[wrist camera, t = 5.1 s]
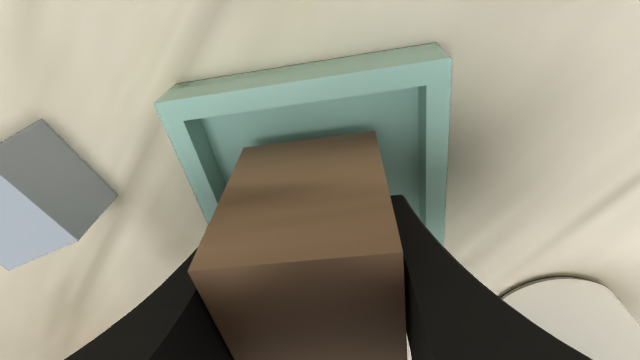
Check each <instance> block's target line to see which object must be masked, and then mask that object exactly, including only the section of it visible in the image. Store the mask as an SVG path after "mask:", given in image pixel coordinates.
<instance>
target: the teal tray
mask: <svg viewBox="0 0 640 360" xmlns="http://www.w3.org/2000/svg"><path fill="white" fill-rule="evenodd" d="M451 72H452V57H451V56H450V55H449V54H448V53H447V52H446V51H445V50H444V49H443V48H442V47H441V46H440V45H439V44H438V43H430V44H424V45H418V46H412V47H405V48H399V49H393V50H386V51H380V52H374V53H368V54H361V55H355V56H349V57H343V58H336V59H330V60H324V61H318V62H311V63H305V64H299V65H292V66H286V67H280V68H274V69H267V70H261V71H255V72H249V73H242V74H236V75H230V76H224V77H217V78H211V79H205V80H198V81H192V82H186V83H180V84H175V85H174V86H173V87H172V88H170V89H169V90H168V91H167V92H166V93H165V94H164V95H162V96H161V97H160V98H159V99H158V100H157V101H156V102H155V103H153V104H154V106H155V108H156V110H157V112H158V115H159V117H160V119H161V121H162V123H163V126H164V128H165V130H166V132H167V134H168V137H169V139H170V141H171V143H172V145H173V148H174V150H175V152H176V154H177V157H178V159H179V161H180V163H181V165H182V168H183V170H184V172H185V174H186V176H187V179H188V181H189V183H190V185H191V187H192V190H193V192H194V194H195V196H196V198H197V201H198V203H199V205H200V207H201V210H202V212H203V214H204V216H205V218H206V221H207V223H208V225H209V223H210V220H211V218H212V216H213V214H214V212H215V209H216V207H217V205H218V203H219V201H220V198H221V196H222V194H223V192H224V190H225V187H226V185H227V183H228V181H229V179H230V176H231V174H232V172H233V170H234V167H235V165H236V163H237V161H238V159H239V156H240V154H241V152H242V150H243V148H245V147H252V146H260V145H268V144H276V143H283V142H291V141H299V140H307V139H315V138H322V137H330V136H338V135H346V134H353V133H361V132H369V131H375V132H376V136H377V141H378V145H379V149H380V154H381V158H382V162H383V167H384V171H385V175H386V180H387V184H388V188H389V193H390V196H391V195H401V194H402V195H403V196H404V197H405V198H406V200H407V201H408V203H409V204H410V206H411V207H412V209H413V210H414V212H415V213H416V214H417V216H418V217H419V218H420V220H421V221H422V222H423V224H424V225H425V226H426V227H427V229H428V230H429V231H430V232H431V233H432V234H433V236H434V237H435V238H436V239H437V240H438V241H439V242H440V244H441V245H442V246H443V247H444V228H445V206H446V184H447V161H448V139H449V117H450V95H451Z"/></svg>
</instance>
